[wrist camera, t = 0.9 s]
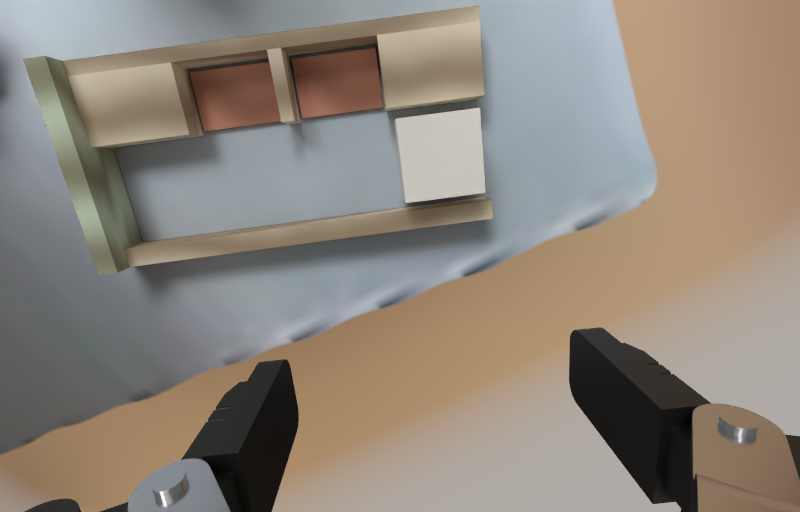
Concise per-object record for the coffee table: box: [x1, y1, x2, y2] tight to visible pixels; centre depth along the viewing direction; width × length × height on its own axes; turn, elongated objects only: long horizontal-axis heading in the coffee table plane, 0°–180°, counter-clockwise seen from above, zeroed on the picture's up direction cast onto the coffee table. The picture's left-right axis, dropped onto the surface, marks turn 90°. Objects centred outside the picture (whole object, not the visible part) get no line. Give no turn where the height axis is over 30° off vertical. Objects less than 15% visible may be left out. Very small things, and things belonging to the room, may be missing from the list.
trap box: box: [23, 6, 493, 275], centre depth 30 cm, size 16×32×4 cm, turn 97°
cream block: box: [394, 108, 486, 203], centre depth 31 cm, size 6×6×5 cm
